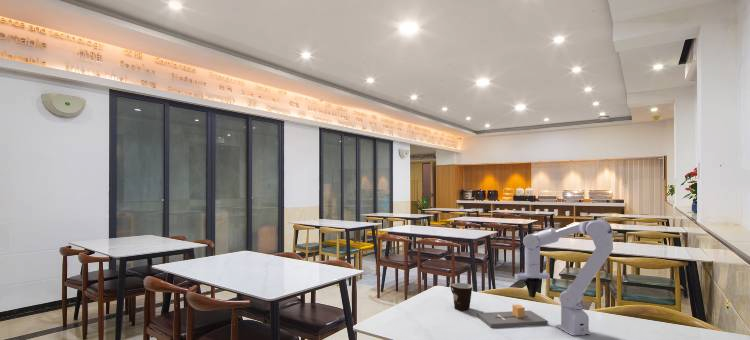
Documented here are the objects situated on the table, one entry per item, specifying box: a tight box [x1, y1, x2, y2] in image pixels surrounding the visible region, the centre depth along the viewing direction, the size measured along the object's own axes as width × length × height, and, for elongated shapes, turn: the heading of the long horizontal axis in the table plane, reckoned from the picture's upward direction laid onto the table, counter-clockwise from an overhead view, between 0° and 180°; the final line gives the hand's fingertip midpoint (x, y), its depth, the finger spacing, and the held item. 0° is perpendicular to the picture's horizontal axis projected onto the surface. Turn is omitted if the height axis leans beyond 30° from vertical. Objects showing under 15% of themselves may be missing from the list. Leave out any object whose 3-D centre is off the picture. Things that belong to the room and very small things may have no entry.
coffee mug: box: [450, 282, 473, 312], centre depth 172 cm, size 12×9×10 cm
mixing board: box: [476, 310, 549, 329], centre depth 157 cm, size 12×24×2 cm, turn 100°
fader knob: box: [511, 304, 526, 318], centre depth 157 cm, size 4×3×4 cm
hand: (532, 296), depth 158 cm, fingers closed
